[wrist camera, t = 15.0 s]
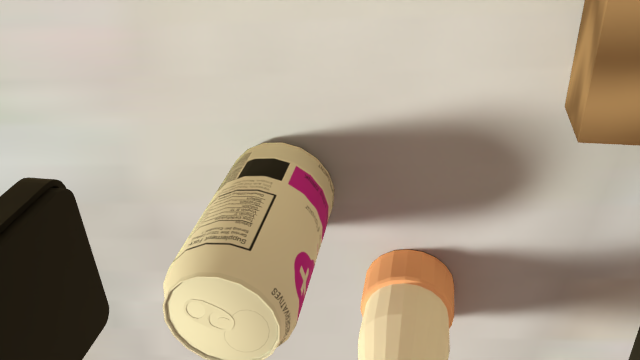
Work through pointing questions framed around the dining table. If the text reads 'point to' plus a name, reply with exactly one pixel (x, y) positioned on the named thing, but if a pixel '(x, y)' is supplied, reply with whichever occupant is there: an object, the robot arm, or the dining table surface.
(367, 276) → the pepper shaker
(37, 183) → the robot arm
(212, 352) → the supplement can
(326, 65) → the dining table surface
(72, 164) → the dining table surface
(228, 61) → the dining table surface
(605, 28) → the walnut block
